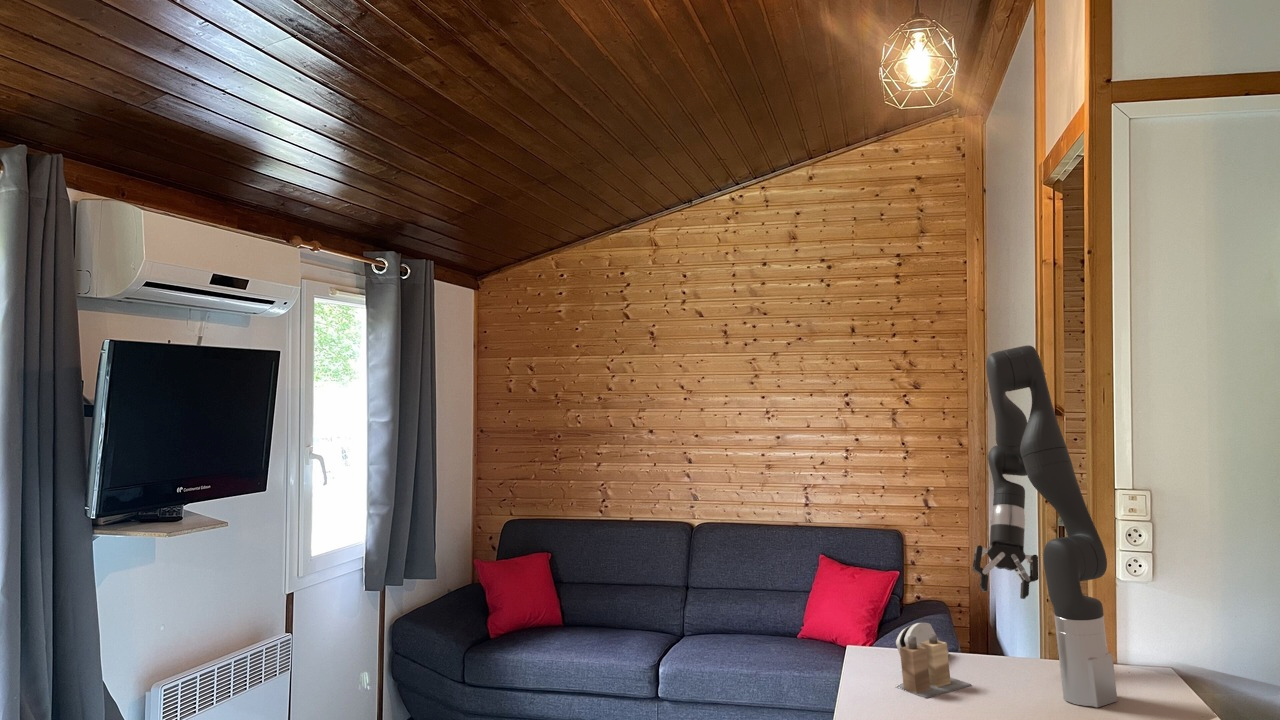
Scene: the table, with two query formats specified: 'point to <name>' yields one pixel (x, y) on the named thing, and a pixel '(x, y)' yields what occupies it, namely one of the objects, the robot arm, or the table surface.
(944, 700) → the table surface
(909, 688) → the mount
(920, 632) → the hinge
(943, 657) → the wooden peg block
